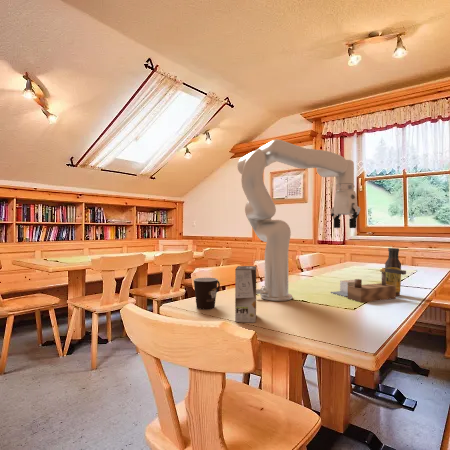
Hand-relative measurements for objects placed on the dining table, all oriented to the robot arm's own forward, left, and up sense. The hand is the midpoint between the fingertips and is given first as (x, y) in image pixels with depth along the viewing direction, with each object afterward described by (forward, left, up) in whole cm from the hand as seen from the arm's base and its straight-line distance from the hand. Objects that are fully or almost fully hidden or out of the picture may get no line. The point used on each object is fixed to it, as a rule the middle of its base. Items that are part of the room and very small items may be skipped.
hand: (344, 227), depth 142 cm
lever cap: (+1, -2, -28) cm, 28 cm away
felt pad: (0, -2, -28) cm, 28 cm away
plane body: (+2, -13, -28) cm, 31 cm away
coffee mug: (-63, -2, -28) cm, 69 cm away
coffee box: (-57, -20, -28) cm, 67 cm away
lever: (+9, -17, -18) cm, 26 cm away
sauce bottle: (+16, -11, -28) cm, 34 cm away
